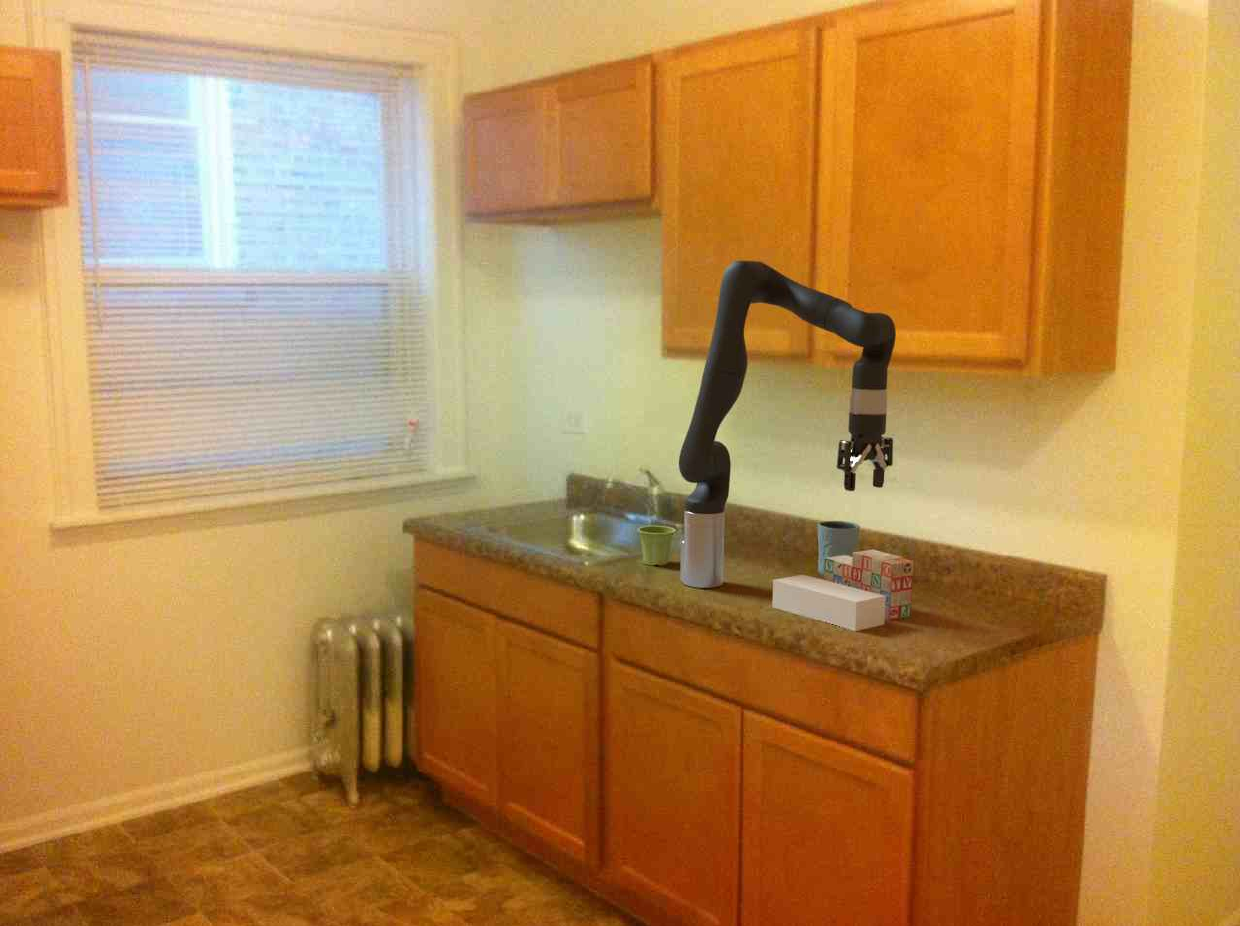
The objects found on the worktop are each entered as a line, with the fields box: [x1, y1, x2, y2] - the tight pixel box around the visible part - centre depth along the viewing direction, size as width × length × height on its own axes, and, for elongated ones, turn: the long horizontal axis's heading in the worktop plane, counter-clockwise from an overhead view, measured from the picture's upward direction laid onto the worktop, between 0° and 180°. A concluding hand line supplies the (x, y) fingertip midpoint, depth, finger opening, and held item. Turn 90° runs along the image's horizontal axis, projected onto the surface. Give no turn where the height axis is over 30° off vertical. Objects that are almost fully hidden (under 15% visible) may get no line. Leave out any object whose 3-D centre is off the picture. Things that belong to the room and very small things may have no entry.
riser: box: [772, 574, 886, 632], centre depth 245 cm, size 23×9×6 cm, turn 38°
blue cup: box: [817, 520, 861, 576], centre depth 285 cm, size 10×10×12 cm
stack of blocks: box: [823, 549, 915, 621], centre depth 252 cm, size 21×6×12 cm, turn 30°
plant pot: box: [637, 525, 676, 567], centre depth 292 cm, size 9×9×9 cm
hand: (863, 488), depth 242 cm, fingers open, 8 cm apart
